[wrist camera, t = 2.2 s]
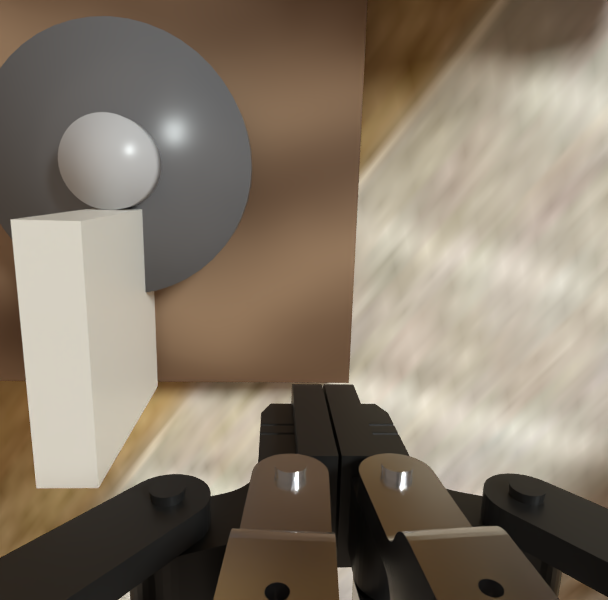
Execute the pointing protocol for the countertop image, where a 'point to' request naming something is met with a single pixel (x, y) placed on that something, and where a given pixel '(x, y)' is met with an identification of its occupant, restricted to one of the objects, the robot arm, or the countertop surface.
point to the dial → (108, 219)
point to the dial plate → (264, 189)
